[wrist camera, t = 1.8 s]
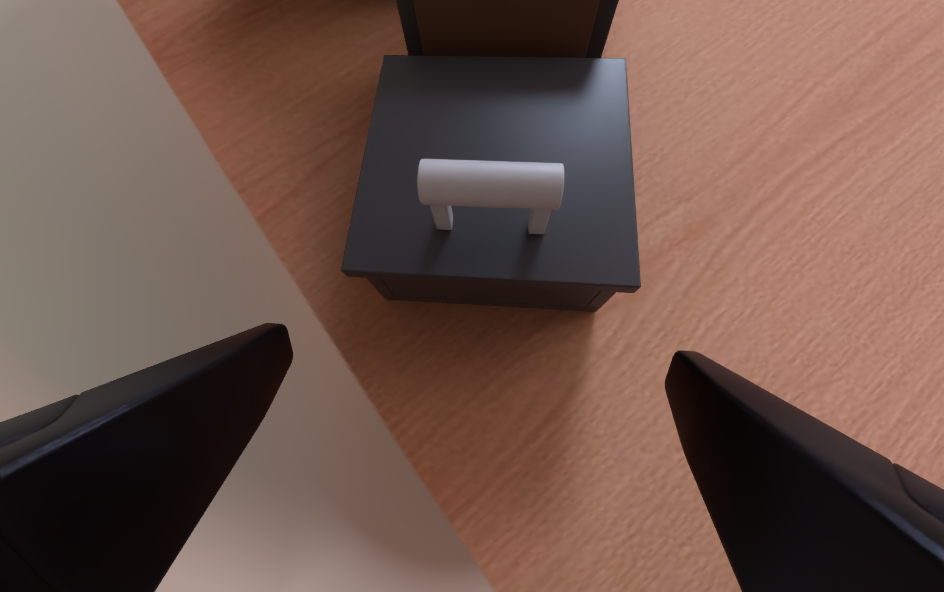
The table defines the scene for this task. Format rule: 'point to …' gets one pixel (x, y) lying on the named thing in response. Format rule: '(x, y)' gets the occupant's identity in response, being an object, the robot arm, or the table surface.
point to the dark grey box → (491, 294)
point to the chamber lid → (498, 175)
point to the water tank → (506, 27)
